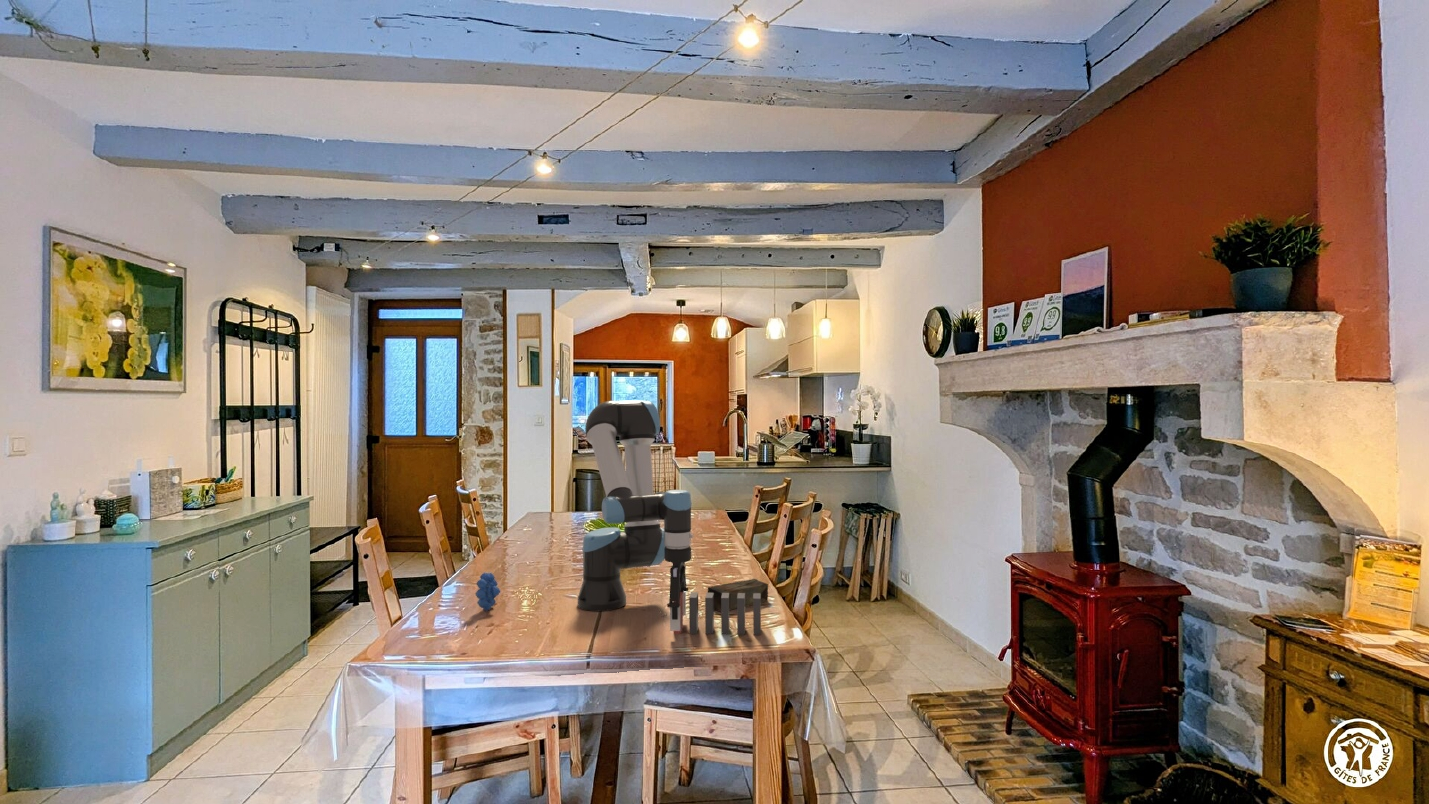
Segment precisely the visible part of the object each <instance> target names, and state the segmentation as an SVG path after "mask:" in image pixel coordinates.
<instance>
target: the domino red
mask: <svg viewBox="0 0 1429 804" xmlns="http://www.w3.org/2000/svg"><path fill="white" fill-rule="evenodd" d="M673 602H676V601H673ZM683 629H684V615H683V592H680V631H673V634H676V635H677V634H678V635H679V634H682V632H683Z"/></svg>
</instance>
